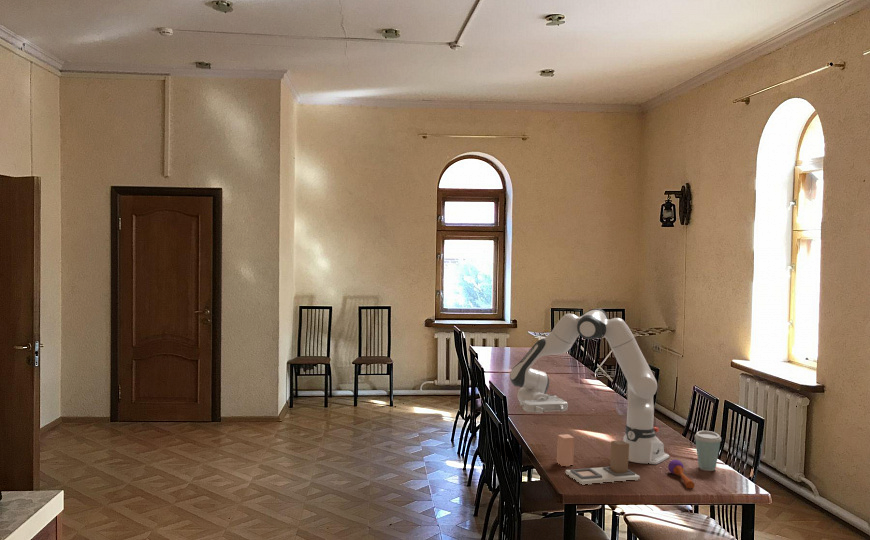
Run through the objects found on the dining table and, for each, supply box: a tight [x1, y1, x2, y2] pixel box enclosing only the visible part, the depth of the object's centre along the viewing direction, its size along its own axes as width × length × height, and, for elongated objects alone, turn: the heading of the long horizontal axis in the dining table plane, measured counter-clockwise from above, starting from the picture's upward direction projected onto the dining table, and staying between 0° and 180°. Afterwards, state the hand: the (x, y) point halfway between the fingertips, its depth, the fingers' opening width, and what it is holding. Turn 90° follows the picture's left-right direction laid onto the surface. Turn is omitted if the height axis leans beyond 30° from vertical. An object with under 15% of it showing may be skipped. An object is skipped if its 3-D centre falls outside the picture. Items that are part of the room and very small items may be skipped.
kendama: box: [667, 459, 695, 489], centre depth 278 cm, size 6×6×20 cm
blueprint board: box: [565, 439, 641, 486], centre depth 278 cm, size 26×13×14 cm, turn 108°
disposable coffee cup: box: [694, 430, 722, 472], centre depth 293 cm, size 11×11×15 cm
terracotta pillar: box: [556, 433, 575, 467], centre depth 291 cm, size 5×5×12 cm
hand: (553, 410), depth 302 cm, fingers open, 8 cm apart
